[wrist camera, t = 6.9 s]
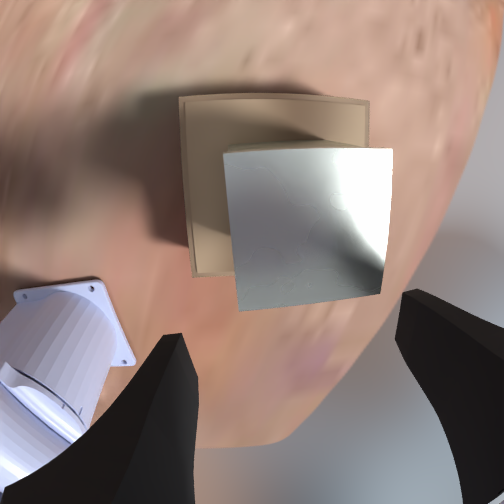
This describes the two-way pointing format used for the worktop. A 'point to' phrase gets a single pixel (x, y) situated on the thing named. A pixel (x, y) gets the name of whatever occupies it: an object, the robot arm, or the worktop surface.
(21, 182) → the worktop surface
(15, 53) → the worktop surface
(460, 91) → the worktop surface
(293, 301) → the tea tin
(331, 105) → the tan flat square box
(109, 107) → the worktop surface
